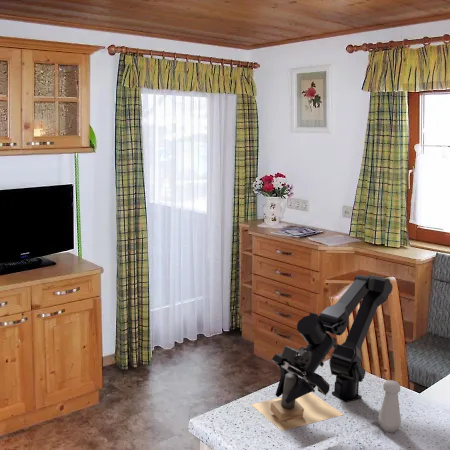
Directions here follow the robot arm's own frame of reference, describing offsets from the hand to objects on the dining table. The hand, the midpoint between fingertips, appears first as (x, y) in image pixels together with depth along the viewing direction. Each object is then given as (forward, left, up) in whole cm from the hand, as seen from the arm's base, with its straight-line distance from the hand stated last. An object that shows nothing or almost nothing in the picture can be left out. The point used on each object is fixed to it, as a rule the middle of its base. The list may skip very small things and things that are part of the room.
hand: (281, 399), depth 154 cm
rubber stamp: (-3, -2, -5) cm, 6 cm away
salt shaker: (-25, +14, -8) cm, 30 cm away
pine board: (-7, -3, -7) cm, 11 cm away
